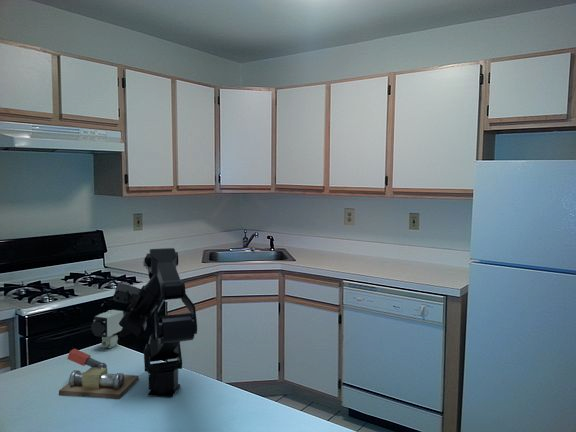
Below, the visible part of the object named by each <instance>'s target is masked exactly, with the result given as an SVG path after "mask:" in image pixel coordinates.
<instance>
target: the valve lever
mask: <svg viewBox="0 0 576 432" xmlns="http://www.w3.org/2000/svg"><path fill="white" fill-rule="evenodd" d="M66 359H67V360H69V361H70V362H73V363H76V364H78V365H80V366H82V367H86V366H88V367H90V368H91V367H97V368H107V369H108V365H107V364H106V363H105V362H101V361H98V360H96V359H94V358H92V355H91V354H88V353H86V352H83V351H81V350H79V349H76V348H73V349H71V350H70V351H69V353H68V355H67V358H66Z"/></svg>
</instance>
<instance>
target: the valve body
mask: <svg viewBox="0 0 576 432" xmlns="http://www.w3.org/2000/svg"><path fill="white" fill-rule="evenodd" d="M83 372H84V371H83ZM83 372H81V370H75V369H74V370H73V371H71V373H69V374H70V375H69V377H68V383H69V385H70V386H75V385H82V388H83V389H95V390H99V389H100V388H101V387H114V389H119V388H120V387H122V386H123V384H124V379H125V377H124V375H125V374H124V373H123V372H117V373H115V374H116V375H110V374H111V373H108V367H107V368H97V367H90V368H88V369H87V370H86V371H85V372H84V373H83Z"/></svg>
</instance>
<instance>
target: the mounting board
mask: <svg viewBox="0 0 576 432" xmlns="http://www.w3.org/2000/svg"><path fill="white" fill-rule="evenodd" d="M82 373H84V371H83V372H82ZM109 374H110V375H116V374H117V373H109ZM124 377H125V379H124V384H123V386H122V387H120V388H119V389H114V387H101V388H100V389H99V390H95V389H83V388H82V385H75V386H70V385H69V382H68V383H67V384H65V385H64V386H63V387H62V388H60V389H59V390H58V395H59V396H69V397H79V398H80V397H84V398H85V397H86V398H96V399H98V398H99V399H112V400H113V399H115V400H120V399H121V398H122V397H123V396H124V395H125V394H126V393H127V392H128V391H129V390H130V389H131V388H133V386H134V385H135V384H136V383H138V381H139V380H140V378H139V375H133V374H124Z"/></svg>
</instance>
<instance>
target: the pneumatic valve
mask: <svg viewBox="0 0 576 432" xmlns="http://www.w3.org/2000/svg"><path fill="white" fill-rule="evenodd" d="M124 313H125V310H122V309H121V310H120V309H119V310H118V309H111V310H110V309H109V310H107V311H106V312H102V313H99V314H97V315H95V316H93V322H92V324H91V326H90V327H91V332H92V334H93V336H94V337H99V338H100V337H101V340H102V341H101V347H102V348H108V349H112V348H114V347H116V346H118V340H119V337H118V336H119V335H118V334H117V333H120V332H121V330H122V328H123V327H121V326H120V325H119V322H120V320H121V318H122V317H123V315H124Z"/></svg>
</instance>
